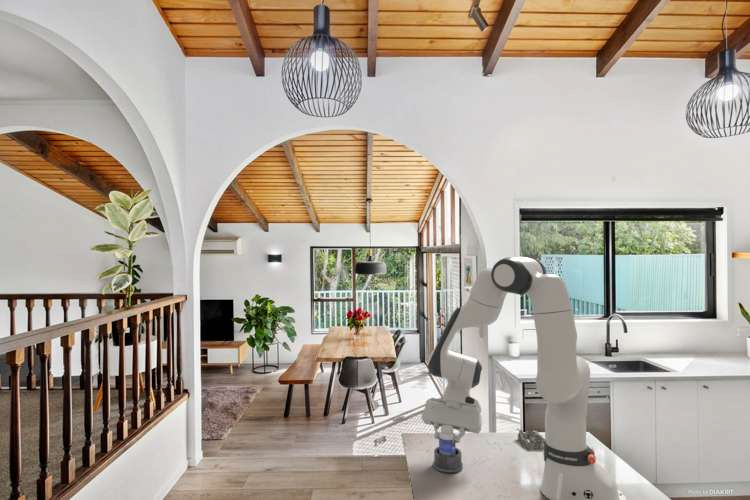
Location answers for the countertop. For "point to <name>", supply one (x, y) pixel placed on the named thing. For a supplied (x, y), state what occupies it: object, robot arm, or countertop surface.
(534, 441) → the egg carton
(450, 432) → the pill bottle
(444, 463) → the cup holder
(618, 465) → the countertop surface
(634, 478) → the countertop surface
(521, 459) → the countertop surface
